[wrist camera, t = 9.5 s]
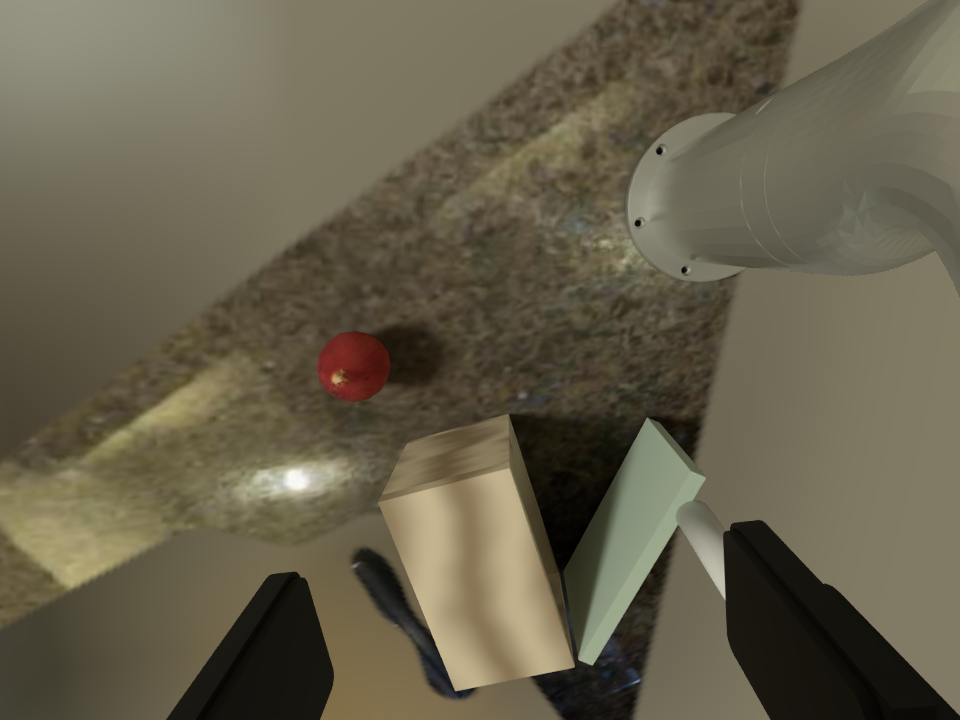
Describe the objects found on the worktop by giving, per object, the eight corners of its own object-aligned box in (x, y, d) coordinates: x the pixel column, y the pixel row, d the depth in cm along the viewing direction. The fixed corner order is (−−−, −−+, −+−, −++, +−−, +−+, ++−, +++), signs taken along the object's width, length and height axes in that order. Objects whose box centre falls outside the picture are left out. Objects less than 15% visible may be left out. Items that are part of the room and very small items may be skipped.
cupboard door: (677, 430, 41) (803, 566, 24) (590, 582, 46) (642, 790, 28) (647, 417, 41) (751, 545, 24) (563, 571, 46) (598, 774, 28)
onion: (377, 397, 42) (348, 432, 35) (324, 363, 42) (283, 390, 34) (410, 348, 41) (388, 373, 33) (356, 311, 40) (321, 328, 33)
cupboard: (508, 413, 42) (509, 468, 32) (559, 573, 46) (574, 667, 36) (407, 441, 43) (378, 502, 33) (466, 594, 47) (455, 691, 37)
